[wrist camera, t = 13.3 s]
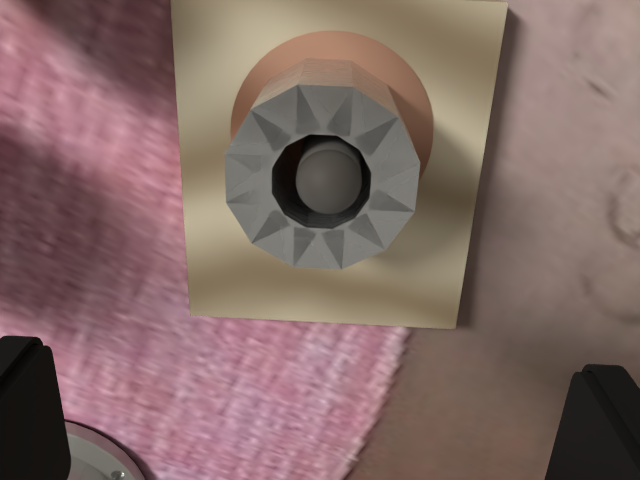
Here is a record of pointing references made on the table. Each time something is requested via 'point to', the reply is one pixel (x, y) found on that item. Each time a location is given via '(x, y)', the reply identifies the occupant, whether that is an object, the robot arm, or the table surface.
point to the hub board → (439, 197)
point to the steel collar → (280, 170)
